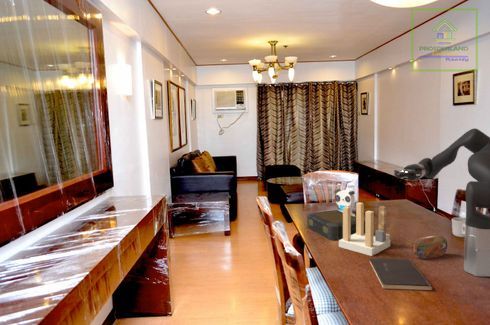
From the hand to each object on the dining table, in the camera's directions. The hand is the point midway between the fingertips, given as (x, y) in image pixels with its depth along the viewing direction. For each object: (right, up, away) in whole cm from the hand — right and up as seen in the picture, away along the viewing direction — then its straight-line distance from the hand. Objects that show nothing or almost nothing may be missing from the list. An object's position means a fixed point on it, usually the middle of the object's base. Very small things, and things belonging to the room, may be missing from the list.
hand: (398, 175), depth 164 cm
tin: (+5, -33, -19) cm, 38 cm away
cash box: (-24, -30, +18) cm, 42 cm away
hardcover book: (-15, -36, -35) cm, 52 cm away
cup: (+31, -29, +3) cm, 43 cm away
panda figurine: (-11, -25, +48) cm, 55 cm away
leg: (-10, -28, -6) cm, 31 cm away
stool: (-17, -31, -5) cm, 36 cm away
